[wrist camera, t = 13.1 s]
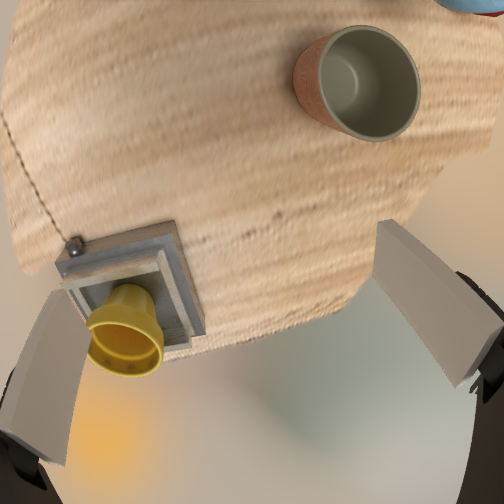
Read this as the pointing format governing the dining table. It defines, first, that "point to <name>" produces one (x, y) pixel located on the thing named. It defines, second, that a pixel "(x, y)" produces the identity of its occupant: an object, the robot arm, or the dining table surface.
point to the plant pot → (126, 333)
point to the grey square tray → (137, 277)
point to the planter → (359, 83)
